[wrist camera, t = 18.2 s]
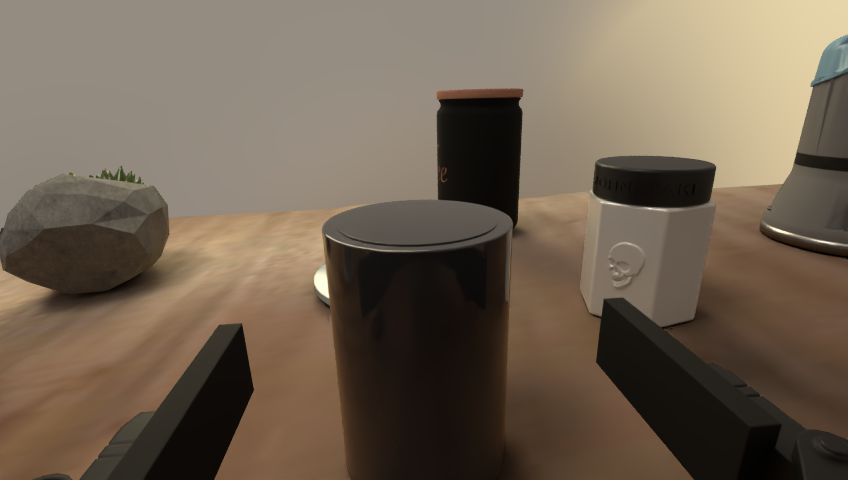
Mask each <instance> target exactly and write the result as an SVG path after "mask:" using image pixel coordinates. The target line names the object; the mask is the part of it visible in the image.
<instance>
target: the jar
mask: <svg viewBox="0 0 848 480" xmlns="http://www.w3.org/2000/svg"><path fill="white" fill-rule="evenodd" d="M715 171H716V166H715V165H714V164H712V163H710V162H706V161H702V160H695V159H687V158H677V157H662V156H619V157H608V158H602V159H599V160H597V161H596V163H595V171H594V181H593V190H591V191H590V193H589V203H588V213H587V223H586V233H585V244H584V254H583V264H582V274H581V285H580V290H581V293H582V296H583V298H584V301H585V303H586V306H587V308H588V311H589V313H591V314H593V315H597V316H600V317H601V316H602V308H603V299H606V298H621V297H623V298H625V299H626V300H627V301H628V302H630V303H631V304H632V305H633V306H635V307H636V308H637V309H638V310H640V311H641V312H642V313H643V314H645V315H646V316H647V317H648V318H650V319H651V320H652V321H653V322H655V323H656V324H657V325H658V326H660V327H665V326H669V325H673V324H677V323H681V322H685V321H689V320H692V319H694V317H695V312H696V307H697V302H698V296H699V291H700V286H701V281H702V276H703V271H704V266H705V260H706V255H707V250H708V245H709V240H710V235H711V230H712V224H713V219H714V214H715V209H716V204H715V203H714V202H711V201H710V198H711V192H712V187H713V182H714V176H715Z"/></svg>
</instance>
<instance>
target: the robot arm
mask: <svg viewBox="0 0 848 480" xmlns="http://www.w3.org/2000/svg"><path fill="white" fill-rule="evenodd" d="M811 87H813V90H812V94H811V98H810V102H809V106H808V110H807V114H806V118H805V122H804V126H803V129H802V134H801V137H800V141H799V145H798V149H797V153H796V157H795V161H794V165H793V169H792V171H791V173H790V175H789V176H788V178H787V179H786V181H785V182H784V184H783V185H782V187H781V188H780V190H779V192H778V193H777V195H776V197H775V199H774V200H773V202H772V204H771V206H769V207H768V208H767V209H766V210H765V212H764V214H763V217H762V219H761V224H760V231H761V232H762V233H764V234H765V235H767V236H769V237H771V238H773V239H775V240H778V241H781V242H784V243H787V244H790V245H794V246H797V247H801V248H805V249H809V250H814V251H819V252H824V253H829V254H835V255H841V256H848V35H845V36H843V37H840V38H838V39H837V40H835V41H833V42H832V43H831V44H829V45H828V46H827V47H826V49H825V50H824V52H823V54H822V56H821V59H820V62H819V66H818V69H817V72H816V76H815V79H814V81H812V83H811ZM596 363H597V364H598V365H599V366H600V367H601V369H602V370H603V371H604V372H605V373H606V375H607V376H608V377H609V378H610V379H611V380H612V382H613V383H614V384H615V385H616V386H617V388H618V389H619V390H620V391H621V392H622V394H623V395H624V396H625V397H626V398H627V400H628V401H629V402H630V403H631V404H632V406H633V407H634V408H635V409H636V410H637V412H638V413H639V414H640V415H641V416H642V418H643V419H644V420H645V421H646V422H647V424H648V425H649V426H650V427H651V428H652V430H653V431H654V432H655V433H656V434H657V436H658V437H659V438H660V439H661V440H662V442H663V443H664V444H665V445H666V446H667V448H668V449H669V450H670V451H671V452H672V454H673V455H674V456H675V457H676V458H677V460H678V461H679V462H680V463H681V464H682V466H683V467H684V468H685V469H686V470H687V471H688V473H689V474H690V475H691V476H692V477H693V479H694V480H848V440H846V439H844V438H842V437H839V436H837V435H834V434H831V433H829V432H824V431H819V430H806V429H805V428H803V427H802V426H801V425H799V424H798V423H797V422H795V421H794V420H793V419H792V418H790V417H789V416H788V415H786V414H785V413H784V412H782V411H781V410H780V409H779V408H777V407H776V406H775V405H773V404H772V403H771V402H769V401H768V400H767V399H765V398H764V397H760V394H759V393H758V392H756V391H755V390H754V389H752V388H751V387H748V386H747V384H746V383H745V382H743V381H742V380H741V379H739V378H738V377H737V376H735V375H734V374H733V373H731V372H729V371H727V370H725V369H723V368H721V367H719V366H717V365H715V364H713V363H710V364H706V363H705V362H704V361H702V360H701V359H700V358H699V357H697V356H696V355H695V354H694V353H692V352H691V351H690V350H689V349H687V348H686V347H685V346H684V345H682V344H681V343H680V342H679V341H677V340H676V339H675V338H673V337H672V336H671V335H670V334H668V333H667V332H666V331H665V330H663V329H662V328H661V327H660V326H658V325H657V324H656V323H655V322H653V321H652V320H651V319H650V318H648V317H647V316H646V315H645V314H643V313H642V312H641V311H640V310H638V309H637V308H636V307H635V306H633V305H632V304H631V303H630V302H628V301H627V300H626V299H625V298H623V297H621V298H606V299H603V308H602V316H601V325H600V334H599V342H598V351H597V359H596ZM253 391H254V388H253V383H252V377H251V371H250V366H249V360H248V355H247V349H246V343H245V338H244V332H243V326H242V323H241V324H227V325H219V326H218V327H217V329H216V330H215V331H214V333H213V334H212V336H211V337H210V338H209V340H208V341H207V342H206V344H205V345H204V346H203V348H202V349H201V351H200V352H199V353H198V355H197V356H196V357H195V359H194V360H193V361H192V363H191V364H190V366H189V367H188V368H187V370H186V371H185V372H184V374H183V375H182V377H181V378H180V379H179V381H178V382H177V383H176V385H175V386H174V387H173V389H172V390H171V392H170V393H169V394H168V396H167V397H166V398H165V400H164V401H163V403H162V404H161V405H160V407H159V408H158V409H157V411H153V412H141V413H139V414H138V415H137V416H135V417H134V418H133V419H131V420H130V421H129V422H127V423H126V424H125V425H124V426H122V427H121V428H120V430H119V431H118V432H117V433H116V435H115V436H114V437H113V438H112V440H111V441H110V442H109V446H106V447H105V448H104V450H103V451H102V452H101V453H100V455H99V457H98V459H96V460H95V461H94V462H93V463H92V465H91V466H90V467H89V468H88V470H87V471H86V472H85V473H84V475H83V476H82V477H81V478H80V480H214V479H215V476H216V474H217V472H218V470H219V467H220V465H221V463H222V461H223V458H224V456H225V454H226V452H227V449H228V447H229V445H230V443H231V440H232V438H233V436H234V434H235V431H236V429H237V427H238V425H239V422H240V420H241V418H242V416H243V413H244V411H245V409H246V407H247V404H248V402H249V400H250V398H251V395H252V393H253ZM33 480H72V479H71V478H70V476H69V475H65V474H59V473H57V474H51V475H45V476H41V477H39V478H36V479H33Z"/></svg>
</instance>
